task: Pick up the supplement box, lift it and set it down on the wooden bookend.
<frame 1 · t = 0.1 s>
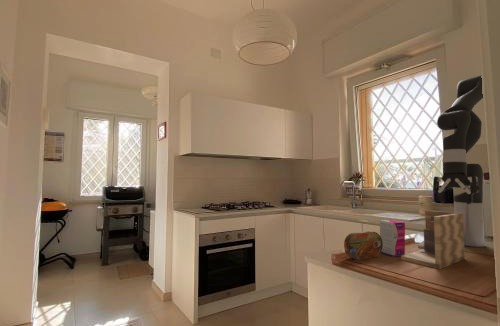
hand: (455, 203, 104), 17 cm above the table, tool pointing down, fingers open, 8 cm apart
packaged product: (437, 247, 107), on the table
supplement box: (392, 254, 93), on the table
tin: (363, 258, 89), on the table
wooden bookend: (433, 259, 88), on the table
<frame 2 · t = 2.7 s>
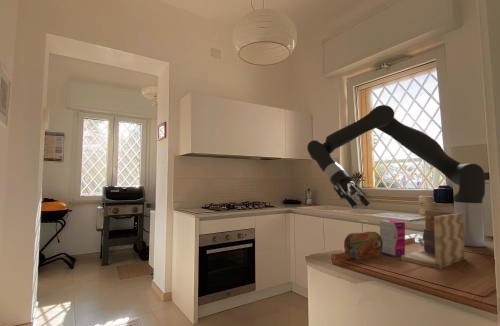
hand: (361, 205, 104), 16 cm above the table, tool tilted 45°, fingers open, 8 cm apart
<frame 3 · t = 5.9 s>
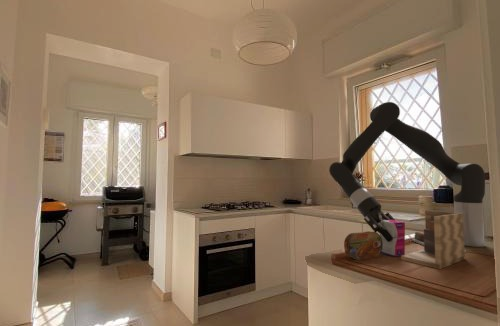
hand: (396, 239, 92), 5 cm above the table, tool tilted 45°, fingers closed on supplement box, 6 cm apart
supplement box: (392, 254, 93), on the table, touching gripper
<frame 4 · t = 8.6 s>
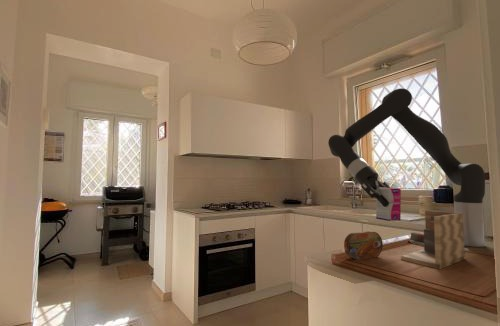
hand: (392, 204, 95), 17 cm above the table, tool tilted 45°, fingers closed on supplement box, 6 cm apart
supplement box: (388, 220, 96), point 11 cm above the table, touching gripper
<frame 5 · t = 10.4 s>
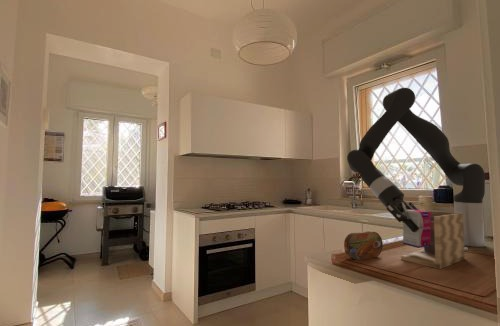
hand: (422, 229, 87), 10 cm above the table, tool tilted 45°, fingers closed on supplement box, 6 cm apart
supplement box: (416, 246, 88), point 4 cm above the table, touching gripper
when the fingers open (8 cm above the table, at t = 11.8 s): supplement box drops 1 cm, resting on wooden bookend.
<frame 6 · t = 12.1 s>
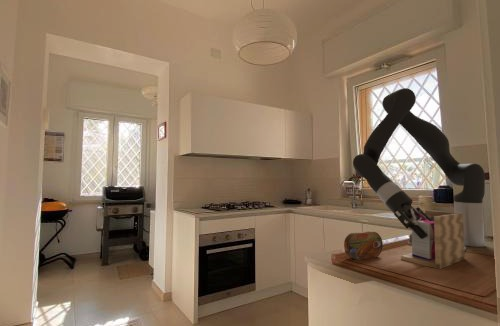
hand: (431, 236, 85), 8 cm above the table, tool tilted 45°, fingers open, 8 cm apart
supplement box: (426, 258, 86), point 1 cm above the table, touching wooden bookend
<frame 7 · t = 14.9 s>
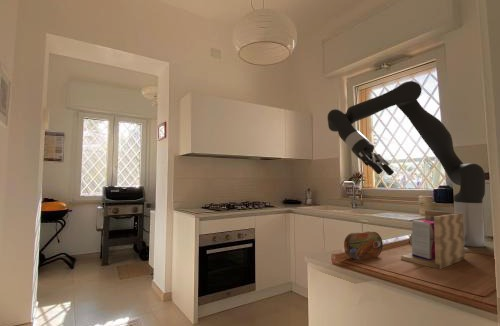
hand: (386, 173, 100), 28 cm above the table, tool tilted 45°, fingers open, 8 cm apart
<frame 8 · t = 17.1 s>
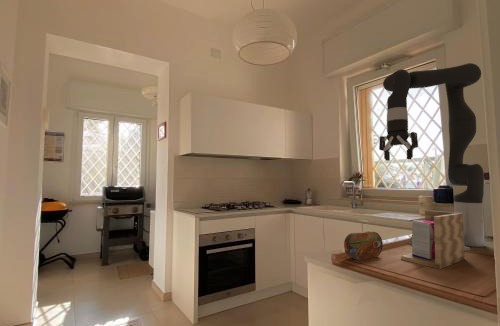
hand: (398, 159, 108), 34 cm above the table, tool pointing down, fingers open, 8 cm apart
at the end: supplement box inside the target area (0.7 cm from its centre), point 1.0 cm above the table; supplement box tilted 0°; the gripper is holding nothing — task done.
